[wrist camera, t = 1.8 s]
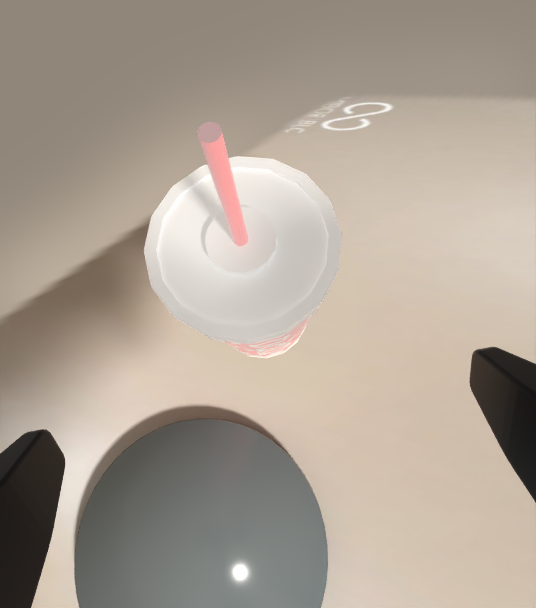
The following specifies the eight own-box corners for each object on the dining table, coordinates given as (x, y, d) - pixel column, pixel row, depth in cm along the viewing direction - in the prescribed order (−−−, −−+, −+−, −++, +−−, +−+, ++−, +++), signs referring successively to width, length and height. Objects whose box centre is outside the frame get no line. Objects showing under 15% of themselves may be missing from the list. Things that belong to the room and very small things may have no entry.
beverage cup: (205, 378, 21) (38, 300, 7) (202, 263, 22) (62, 24, 9) (328, 368, 20) (397, 269, 7) (316, 253, 22) (352, -9, 8)
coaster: (280, 744, 16) (279, 760, 16) (41, 630, 18) (30, 639, 17) (356, 465, 19) (358, 467, 18) (141, 387, 21) (136, 386, 20)
